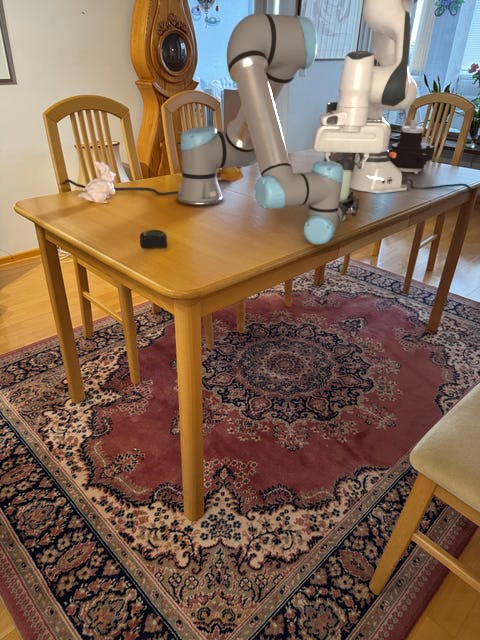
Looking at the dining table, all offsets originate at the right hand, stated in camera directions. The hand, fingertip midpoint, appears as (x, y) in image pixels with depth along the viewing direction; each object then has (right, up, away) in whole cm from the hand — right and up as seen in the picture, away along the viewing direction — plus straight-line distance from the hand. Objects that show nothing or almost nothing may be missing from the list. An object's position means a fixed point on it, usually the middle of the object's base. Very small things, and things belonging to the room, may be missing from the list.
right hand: (344, 168), depth 135 cm
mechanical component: (+47, +24, +74) cm, 91 cm away
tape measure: (-53, -27, -17) cm, 62 cm away
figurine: (-79, -5, +19) cm, 81 cm away
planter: (+16, +26, +76) cm, 81 cm away
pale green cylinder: (0, -13, +8) cm, 15 cm away
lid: (0, +2, -1) cm, 2 cm away
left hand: (+2, -6, +9) cm, 11 cm away
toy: (-35, +12, +50) cm, 62 cm away
